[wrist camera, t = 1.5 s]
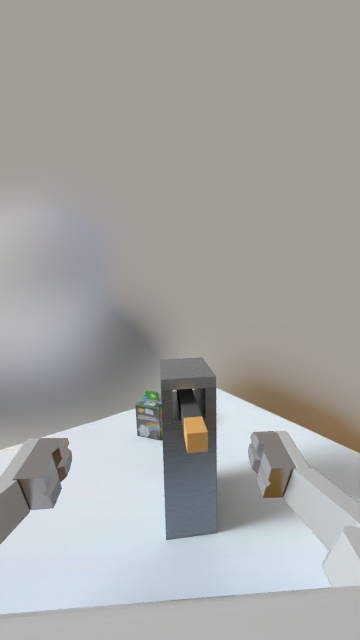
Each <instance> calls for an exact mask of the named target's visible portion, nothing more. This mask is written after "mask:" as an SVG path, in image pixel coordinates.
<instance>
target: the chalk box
mask: <svg viewBox="0 0 360 640" xmlns="http://www.w3.org/2000/svg"><path fill="white" fill-rule="evenodd" d="M136 420H137V433H138V436H143V437H148V438H153V439H157V440H162V438H163V430H162V401H161V394H158V393H157V392H152V391H146V395H145V396H144V397H142V398H141V400H140V401H139V402H138V403H137V404H136Z"/></svg>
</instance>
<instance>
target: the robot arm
mask: <svg viewBox="0 0 360 640" xmlns="http://www.w3.org/2000/svg"><path fill="white" fill-rule="evenodd" d="M251 440H252V443H251V444H250V445H249V448H248V455H249V460H250V464H251V467H252V469H253V470H254V471H255V472H256V473H257V474H258V475H257V479H256V481H257V483H258V486H259V489H260V491H261V494H262V497H263V498H274V497H283V499H284V500H285V501H286V503H287V504H288V505H289V506H290V507H291V508H292V509H293V511H294V512H295V513H296V514H297V515H298V516H299V517H300V518H301V520H302V521H303V522H304V523H305V524H306V525H307V526H308V528H309V529H310V530H311V531H312V532H313V533H314V534H315V535H316V537H317V538H318V539H319V540H320V541H321V542H322V543H323V545H324V546H325V547H326V548H327V549H328V550H329V552H328V554H327V556H326V558H325V559H324V561H323V564H322V568H323V570H324V572H325V575H326V577H327V579H328V581H329V583H330V585H331V587H330V588H318V589H305V590H293V591H281V592H268V593H256V594H244V595H231V596H219V597H206V598H194V599H182V600H169V601H157V602H144V603H132V604H120V605H107V606H95V607H83V608H70V609H58V610H45V611H33V612H21V613H8V614H0V640H360V504H359V503H358V502H356V501H355V500H354V499H353V498H351V497H350V496H349V495H347V494H346V493H345V492H344V491H342V490H341V489H340V488H338V487H337V486H336V485H335V484H333V483H332V482H331V481H329V480H328V479H327V478H326V477H324V476H323V475H322V474H321V473H319V472H318V471H317V470H315V469H314V468H310V467H309V466H308V464H307V463H306V461H305V459H304V458H303V456H302V455H301V453H300V451H299V450H298V448H297V447H296V445H295V443H294V442H293V440H292V439H291V437H290V435H289V434H288V433H287V432H286V431H275V432H274V431H268V432H253V433H252V434H251ZM68 445H69V441H68V438H33V439H31V438H30V439H28V440H27V441H26V442H25V443H24V444H23V445H22V447H21V448H20V450H19V451H18V453H17V454H16V455H15V457H14V458H13V460H12V461H11V463H10V464H9V465H8V467H7V468H6V470H5V471H4V473H3V474H2V475H1V477H0V544H1V543H2V542H3V541H4V540H5V539H6V538H7V536H8V535H9V534H10V533H11V532H12V531H13V530H14V529H15V528H16V527H17V526H18V524H19V523H20V522H21V521H22V520H23V519H24V518H25V517H26V516H27V515H28V513H29V512H30V510H38V509H50V508H54V506H55V503H56V501H57V499H58V496H59V494H60V492H61V489H62V487H61V483H60V482H61V481H62V480H64V479H65V478H66V477H67V475H68V472H69V470H70V466H71V462H72V453H71V451H70V450H69V449H68V448H67V447H68Z"/></svg>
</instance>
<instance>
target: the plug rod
mask: <svg viewBox="0 0 360 640" xmlns="http://www.w3.org/2000/svg"><path fill="white" fill-rule="evenodd" d="M177 399H178V405H179V410H180V416H181V421H182V426H183V432H184V437H185V443H186V448H187V453H196V452H207V451H208V431H207V429H206V426H205V423H204V420H203V418H202V415H201V412H200V410H199V407H198V404H197V401H196V399H195V396H194V393H193V390H192V389H178V390H177Z"/></svg>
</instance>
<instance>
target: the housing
mask: <svg viewBox="0 0 360 640" xmlns="http://www.w3.org/2000/svg"><path fill="white" fill-rule="evenodd" d="M160 368H161V401H162V430H163V460H164V489H165V518H166V540H168V539H175V538H182V537H189V536H197V535H204V534H211V533H217V457H216V376H215V374H214V373H213V372H212V370H211V369H210V367H209V366H208V365H207V363H206V362H205V361H204V359H203V358H187V359H168V360H160ZM192 388H195V390H193V393H194V396H195V399H196V401H197V404H198V407H199V410H200V412H201V415H202V418H203V420H204V423H205V426H206V429H207V431H208V451H207V452H196V453H187V448H186V443H185V437H184V432H183V426H182V421H181V416H180V410H179V405H178V399H177V392H172V390H178V389H192Z"/></svg>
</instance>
